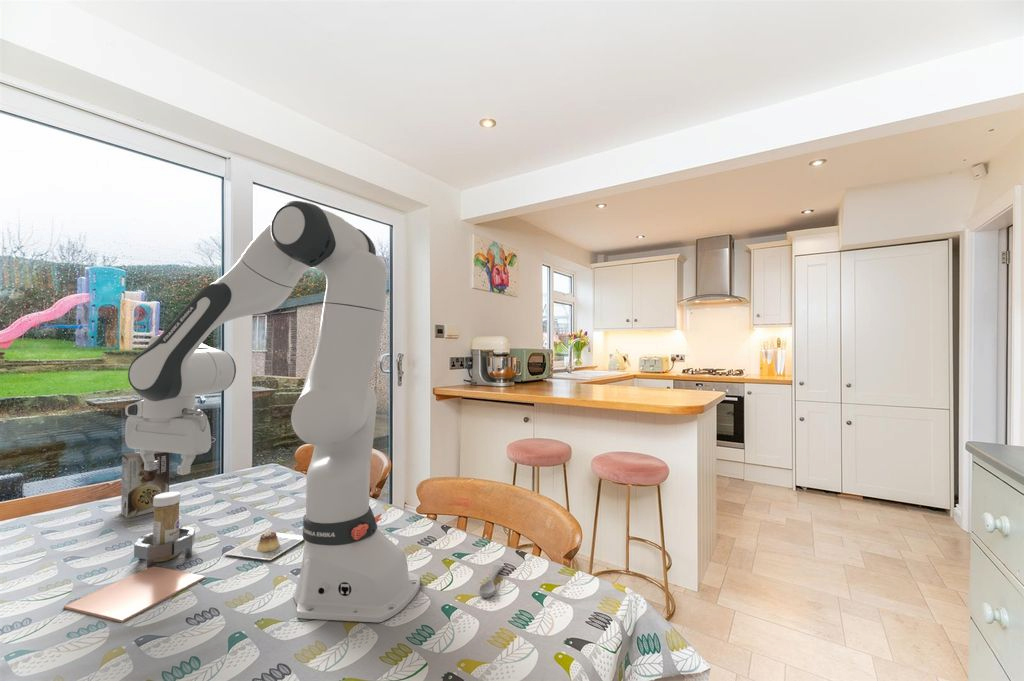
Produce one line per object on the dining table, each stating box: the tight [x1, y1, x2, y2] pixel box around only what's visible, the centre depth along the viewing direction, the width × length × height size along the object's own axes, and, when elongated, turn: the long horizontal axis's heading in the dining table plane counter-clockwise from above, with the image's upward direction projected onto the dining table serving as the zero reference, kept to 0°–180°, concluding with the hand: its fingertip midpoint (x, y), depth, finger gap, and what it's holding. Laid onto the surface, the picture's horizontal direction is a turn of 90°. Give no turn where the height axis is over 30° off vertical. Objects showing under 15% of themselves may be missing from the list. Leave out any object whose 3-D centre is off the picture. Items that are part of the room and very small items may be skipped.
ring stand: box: [133, 525, 196, 569], centre depth 90 cm, size 10×10×4 cm
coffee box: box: [120, 451, 171, 519], centre depth 117 cm, size 9×6×16 cm
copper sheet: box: [63, 565, 206, 623], centre depth 77 cm, size 14×14×1 cm
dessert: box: [223, 528, 305, 561], centre depth 96 cm, size 12×12×5 cm
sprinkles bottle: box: [152, 491, 182, 563], centre depth 91 cm, size 5×5×14 cm
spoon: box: [478, 564, 504, 599], centre depth 82 cm, size 3×12×2 cm, turn 169°
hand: (166, 471), depth 91 cm, fingers open, 8 cm apart
